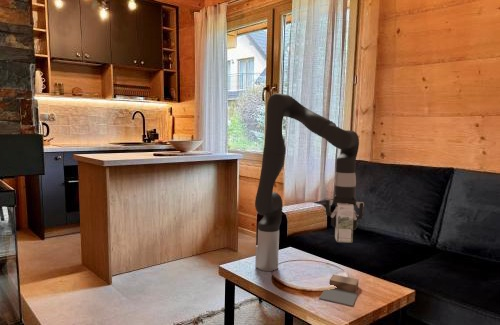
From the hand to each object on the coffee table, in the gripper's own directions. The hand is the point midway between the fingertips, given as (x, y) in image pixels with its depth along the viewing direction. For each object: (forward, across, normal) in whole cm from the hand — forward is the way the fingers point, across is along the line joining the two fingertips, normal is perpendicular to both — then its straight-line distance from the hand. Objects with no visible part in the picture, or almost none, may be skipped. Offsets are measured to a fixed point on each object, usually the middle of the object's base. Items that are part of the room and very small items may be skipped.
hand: (343, 228), depth 138 cm
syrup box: (+5, 0, 0) cm, 5 cm away
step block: (+24, 0, +4) cm, 25 cm away
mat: (+25, 0, -5) cm, 25 cm away
